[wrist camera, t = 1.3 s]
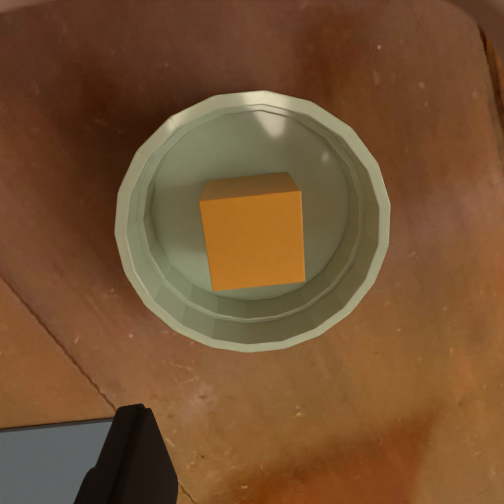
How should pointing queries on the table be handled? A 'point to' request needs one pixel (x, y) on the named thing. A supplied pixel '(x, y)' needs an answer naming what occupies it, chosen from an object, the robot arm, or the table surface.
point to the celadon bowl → (239, 165)
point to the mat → (48, 460)
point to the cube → (253, 231)
